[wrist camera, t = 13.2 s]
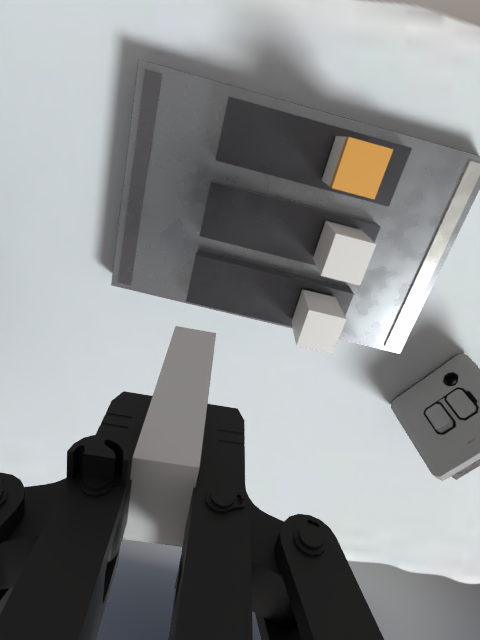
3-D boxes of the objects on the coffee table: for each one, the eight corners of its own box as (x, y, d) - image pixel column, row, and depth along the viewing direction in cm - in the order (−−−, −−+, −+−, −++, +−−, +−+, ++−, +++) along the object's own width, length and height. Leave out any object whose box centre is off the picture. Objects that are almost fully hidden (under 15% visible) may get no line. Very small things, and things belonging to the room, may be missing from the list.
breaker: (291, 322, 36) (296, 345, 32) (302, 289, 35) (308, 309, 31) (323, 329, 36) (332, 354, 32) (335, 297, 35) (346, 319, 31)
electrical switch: (461, 348, 41) (520, 411, 33) (487, 376, 43) (548, 442, 35) (386, 401, 44) (423, 471, 36) (413, 425, 46) (454, 496, 38)
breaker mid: (312, 258, 34) (321, 275, 30) (325, 220, 32) (335, 233, 28) (347, 267, 34) (359, 285, 30) (361, 229, 33) (376, 244, 29)
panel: (117, 277, 39) (105, 291, 36) (145, 63, 31) (133, 55, 28) (393, 344, 41) (405, 362, 38) (480, 158, 34) (504, 161, 30)
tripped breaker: (321, 180, 31) (331, 188, 27) (335, 135, 30) (348, 136, 26) (358, 190, 31) (374, 199, 27) (374, 146, 30) (393, 149, 26)
